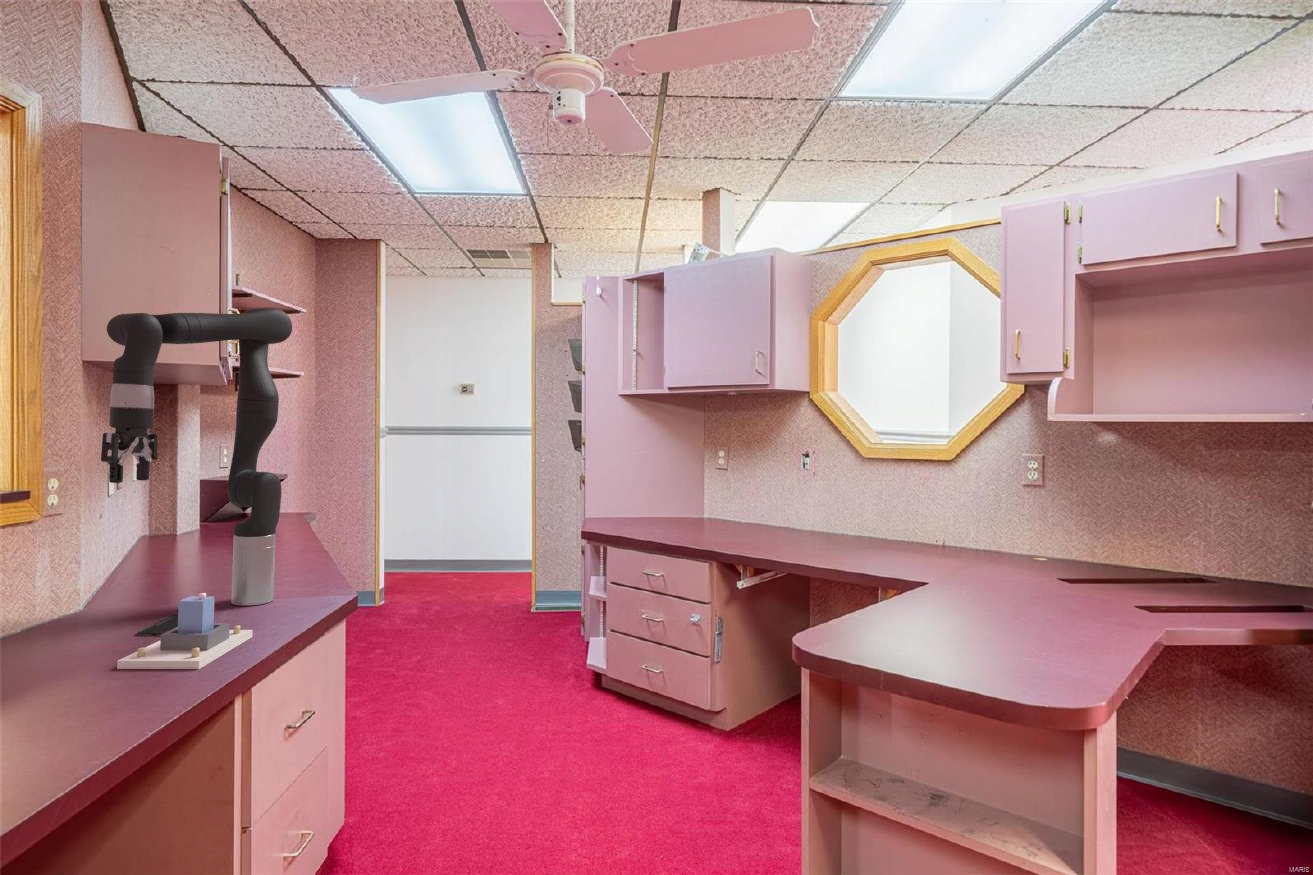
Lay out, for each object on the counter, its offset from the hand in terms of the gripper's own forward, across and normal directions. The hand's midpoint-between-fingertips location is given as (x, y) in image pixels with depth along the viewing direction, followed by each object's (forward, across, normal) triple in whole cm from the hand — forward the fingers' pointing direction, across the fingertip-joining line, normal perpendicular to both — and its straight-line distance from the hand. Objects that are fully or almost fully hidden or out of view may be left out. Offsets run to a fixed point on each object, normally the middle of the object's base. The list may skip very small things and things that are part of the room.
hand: (129, 481), depth 146 cm
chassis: (+32, -14, -21) cm, 41 cm away
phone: (+33, +4, -8) cm, 34 cm away
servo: (+31, -14, -22) cm, 40 cm away
